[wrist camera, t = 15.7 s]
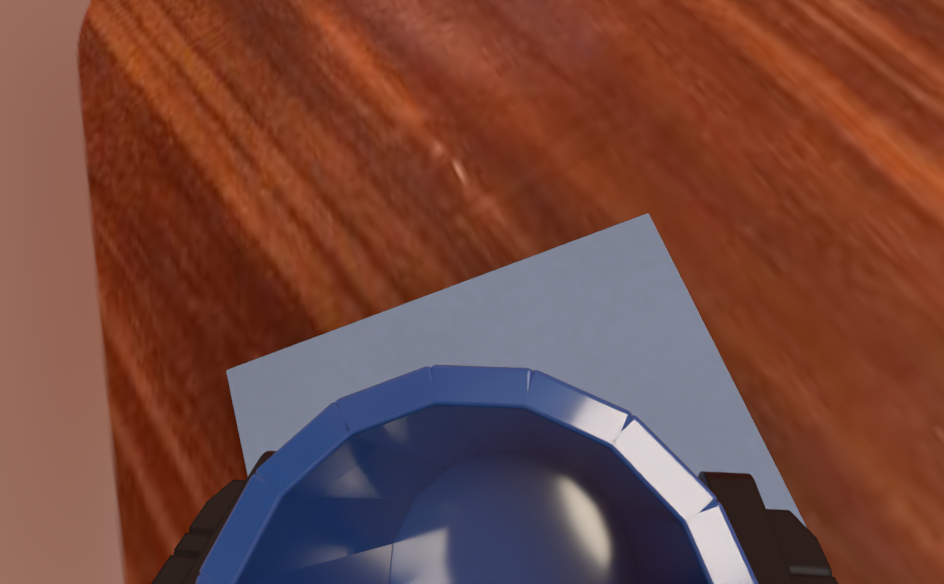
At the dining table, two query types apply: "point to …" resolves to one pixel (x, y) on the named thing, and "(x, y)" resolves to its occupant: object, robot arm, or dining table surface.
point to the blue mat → (537, 352)
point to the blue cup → (476, 493)
